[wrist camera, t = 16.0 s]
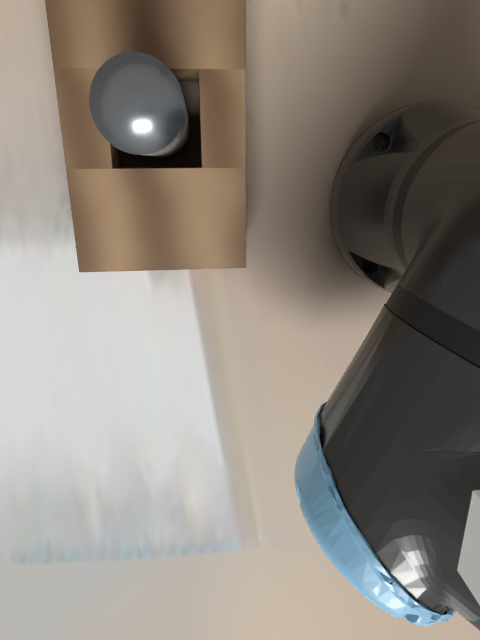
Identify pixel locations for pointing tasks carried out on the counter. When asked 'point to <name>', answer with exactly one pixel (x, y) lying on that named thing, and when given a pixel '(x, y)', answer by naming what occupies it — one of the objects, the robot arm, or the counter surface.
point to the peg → (139, 105)
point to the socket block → (156, 182)
